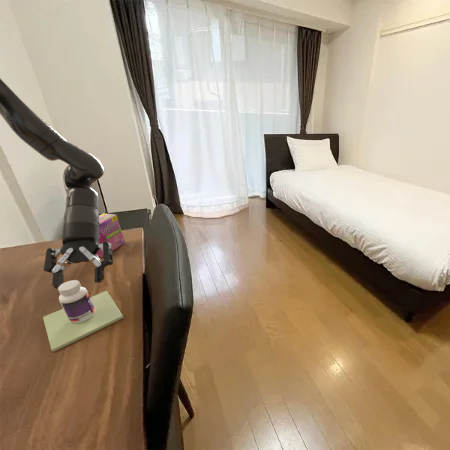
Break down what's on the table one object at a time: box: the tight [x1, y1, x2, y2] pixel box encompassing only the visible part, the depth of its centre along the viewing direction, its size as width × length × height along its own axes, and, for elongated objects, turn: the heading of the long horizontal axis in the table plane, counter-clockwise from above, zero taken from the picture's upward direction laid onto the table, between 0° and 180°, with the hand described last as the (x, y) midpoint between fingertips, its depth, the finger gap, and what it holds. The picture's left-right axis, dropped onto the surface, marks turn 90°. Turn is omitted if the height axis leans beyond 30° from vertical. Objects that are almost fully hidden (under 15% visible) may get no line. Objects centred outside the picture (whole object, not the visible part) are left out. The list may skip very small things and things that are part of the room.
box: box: [95, 213, 126, 258], centre depth 96 cm, size 10×6×12 cm, turn 171°
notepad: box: [42, 290, 124, 353], centre depth 68 cm, size 14×14×1 cm
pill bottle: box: [57, 279, 95, 323], centre depth 66 cm, size 5×5×10 cm
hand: (78, 285), depth 68 cm, fingers open, 8 cm apart
